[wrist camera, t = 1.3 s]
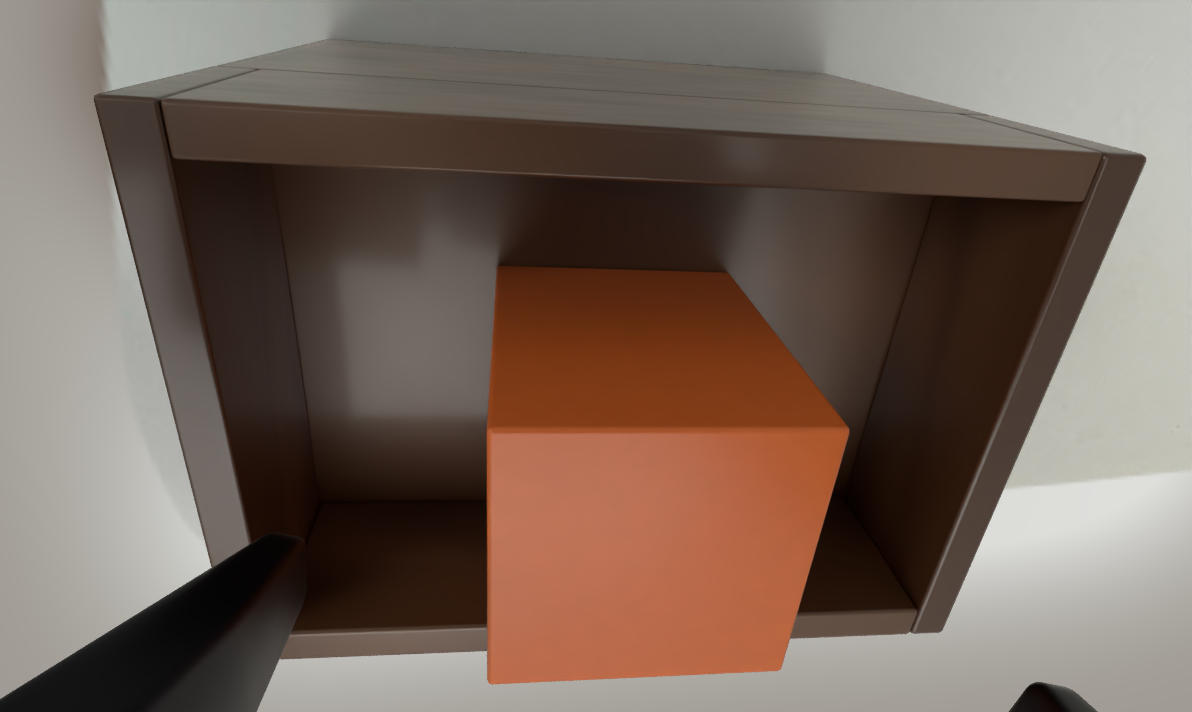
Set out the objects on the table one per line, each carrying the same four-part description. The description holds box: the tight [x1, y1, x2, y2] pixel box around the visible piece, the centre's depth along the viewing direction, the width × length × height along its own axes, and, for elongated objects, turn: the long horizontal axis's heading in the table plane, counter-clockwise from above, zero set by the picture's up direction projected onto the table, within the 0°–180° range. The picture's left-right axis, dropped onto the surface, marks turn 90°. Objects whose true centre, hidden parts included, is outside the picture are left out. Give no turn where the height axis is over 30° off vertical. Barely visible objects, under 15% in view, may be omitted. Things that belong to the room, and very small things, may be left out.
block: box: [487, 266, 849, 684], centre depth 12 cm, size 4×4×6 cm
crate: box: [94, 39, 1146, 659], centre depth 16 cm, size 13×9×11 cm
